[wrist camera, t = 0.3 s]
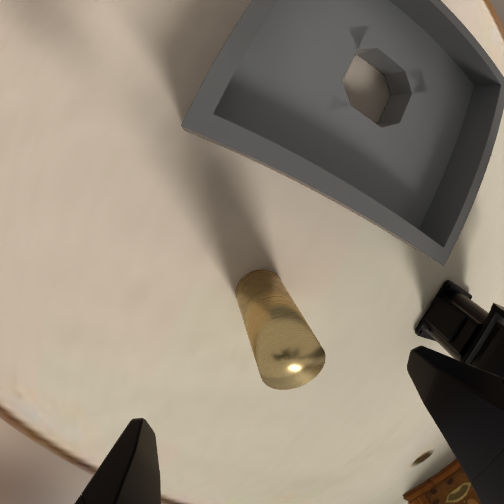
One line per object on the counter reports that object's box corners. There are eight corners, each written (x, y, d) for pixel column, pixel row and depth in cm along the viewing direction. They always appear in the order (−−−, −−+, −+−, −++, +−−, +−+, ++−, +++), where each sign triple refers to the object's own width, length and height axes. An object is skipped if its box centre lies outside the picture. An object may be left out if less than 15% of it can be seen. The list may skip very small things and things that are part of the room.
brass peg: (290, 278, 21) (337, 347, 14) (269, 316, 22) (303, 393, 15) (248, 263, 20) (281, 333, 13) (228, 304, 21) (248, 384, 14)
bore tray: (462, 84, 18) (508, 84, 13) (399, 239, 22) (443, 266, 17) (292, -47, 12) (320, -85, 7) (184, 130, 16) (180, 126, 11)
